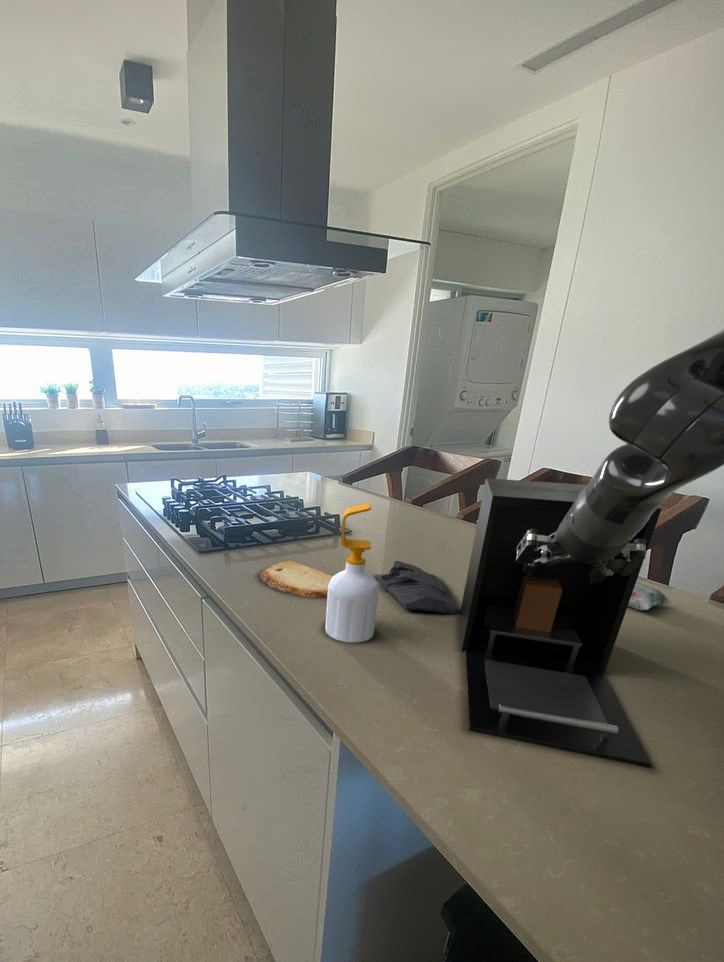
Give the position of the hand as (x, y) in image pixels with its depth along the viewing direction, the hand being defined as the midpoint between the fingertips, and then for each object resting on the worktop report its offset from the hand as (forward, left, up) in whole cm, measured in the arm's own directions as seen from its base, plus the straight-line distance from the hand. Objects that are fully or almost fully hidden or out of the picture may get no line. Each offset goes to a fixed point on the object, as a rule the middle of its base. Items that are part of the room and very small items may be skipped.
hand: (559, 575), depth 72 cm
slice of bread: (+46, -24, -18) cm, 55 cm away
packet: (0, -9, -13) cm, 16 cm away
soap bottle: (+31, -4, -18) cm, 36 cm away
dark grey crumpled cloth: (+20, -27, -18) cm, 38 cm away
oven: (0, 0, -18) cm, 18 cm away
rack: (0, -10, -17) cm, 19 cm away
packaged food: (-24, -38, -18) cm, 48 cm away
